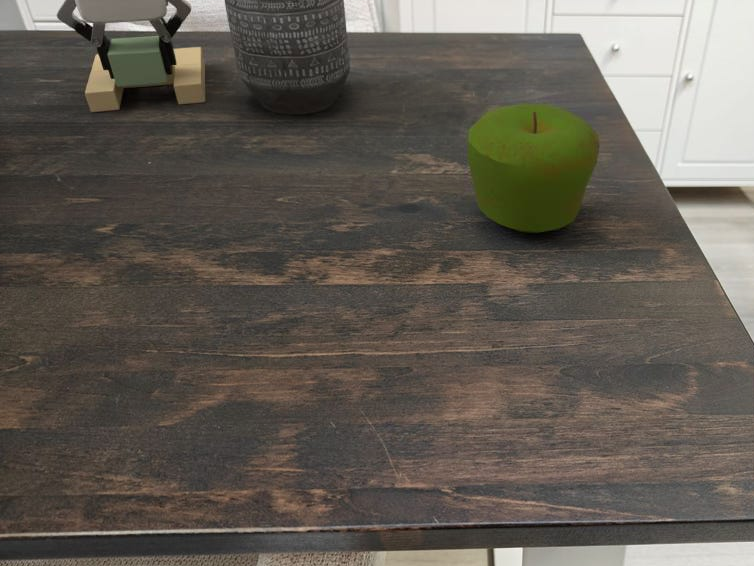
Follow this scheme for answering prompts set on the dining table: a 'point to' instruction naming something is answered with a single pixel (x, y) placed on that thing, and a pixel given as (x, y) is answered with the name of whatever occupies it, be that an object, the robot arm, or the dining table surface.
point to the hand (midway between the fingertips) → (142, 71)
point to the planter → (290, 51)
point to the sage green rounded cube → (137, 61)
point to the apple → (531, 165)
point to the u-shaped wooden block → (184, 77)
